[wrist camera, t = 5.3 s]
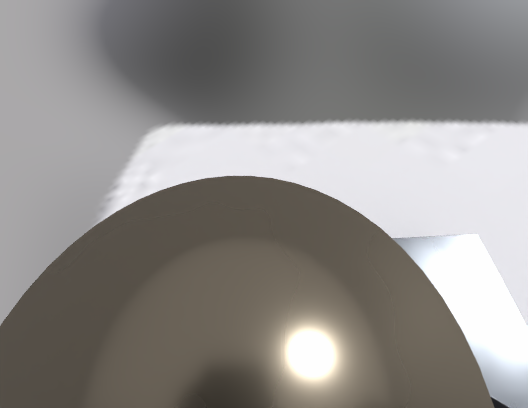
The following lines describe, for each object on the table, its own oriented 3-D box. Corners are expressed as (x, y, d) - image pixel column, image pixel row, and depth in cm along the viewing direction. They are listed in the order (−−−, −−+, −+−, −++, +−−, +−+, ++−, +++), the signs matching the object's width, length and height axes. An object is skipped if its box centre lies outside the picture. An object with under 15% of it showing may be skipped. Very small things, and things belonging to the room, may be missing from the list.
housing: (546, 488, 12) (636, 530, 9) (136, 513, 12) (92, 565, 9) (443, 253, 18) (477, 233, 15) (172, 268, 18) (153, 251, 15)
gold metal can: (315, 419, 12) (758, 1027, 1) (212, 426, 12) (-386, 1133, 1) (301, 310, 14) (395, 167, 4) (217, 314, 14) (59, 184, 4)
